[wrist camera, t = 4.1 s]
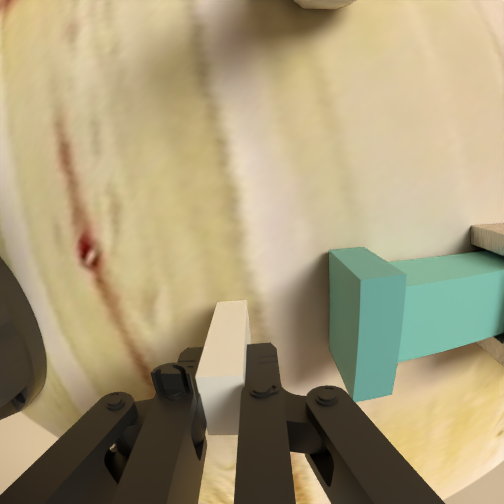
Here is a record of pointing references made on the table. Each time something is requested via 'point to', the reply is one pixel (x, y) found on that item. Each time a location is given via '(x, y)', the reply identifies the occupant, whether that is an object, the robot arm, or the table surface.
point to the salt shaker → (323, 4)
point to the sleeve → (500, 241)
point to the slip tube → (407, 311)
